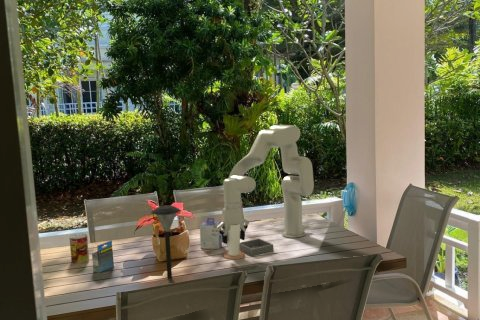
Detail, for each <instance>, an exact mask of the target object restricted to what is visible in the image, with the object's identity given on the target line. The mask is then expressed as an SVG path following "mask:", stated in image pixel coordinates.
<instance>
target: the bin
mask: <svg viewBox="0 0 480 320" xmlns="http://www.w3.org/2000/svg"><path fill="white" fill-rule="evenodd" d="M239 251H240V252H243V253H245V255H247V256H250V257H256V256H260V255H265V254H269V253H274V244H273V243H271V242H268V241H266V240H264V239H262V238H255V239H250V240H246V241H245V240H244V241H240V247H239Z"/></svg>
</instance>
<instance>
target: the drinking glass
mask: <svg viewBox="0 0 480 320" xmlns="http://www.w3.org/2000/svg"><path fill="white" fill-rule="evenodd" d="M240 231H241V230H240V224H237V225H231V226H230V230H229V231H228V232H227V234H226V235H227V244H226V245H227V252H228V255H230V256H237V255H239V247H240V243H241V239H240Z"/></svg>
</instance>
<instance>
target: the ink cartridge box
mask: <svg viewBox="0 0 480 320" xmlns="http://www.w3.org/2000/svg"><path fill="white" fill-rule="evenodd" d="M220 223H221V222H215V218H214V217H211V218H210V217H208V218H207V220H206V222H201V223H200V224H199V237H200V239H199V240H200V249H207V250H208V249H210V250H211V249H214V250H215V249H216V250H219V249H221V248H222V247H223V242H222V235H221V234H220V233H219V232H218V230H217V228H216V227H217V226H218V225H219V224H220Z"/></svg>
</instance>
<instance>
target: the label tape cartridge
mask: <svg viewBox="0 0 480 320" xmlns="http://www.w3.org/2000/svg"><path fill="white" fill-rule="evenodd" d="M96 247H97V251H95V252H92V253H91V257H92V260H91V261H92V271H93V273H98V274H100V273H102V272H104V271H106V270H107V271H108V270H109V269H111V268H113V267H115V262H114V254H113V253H114V250H113V240H112V239H111V240H109V241H106V242H104V243H101V244H97V246H96Z"/></svg>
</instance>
